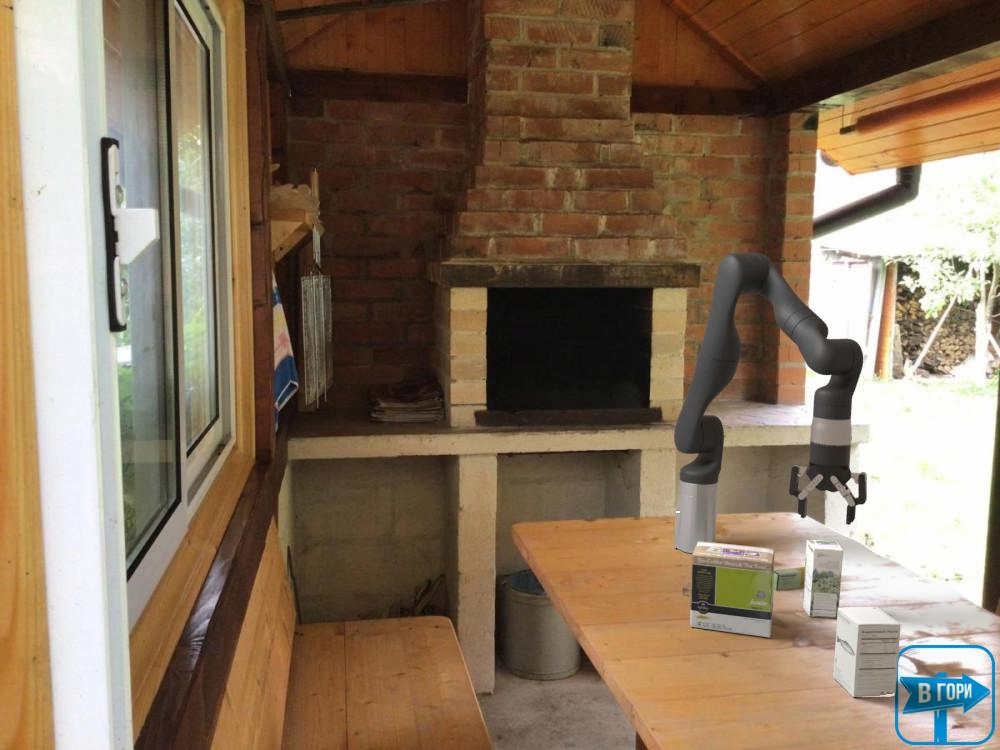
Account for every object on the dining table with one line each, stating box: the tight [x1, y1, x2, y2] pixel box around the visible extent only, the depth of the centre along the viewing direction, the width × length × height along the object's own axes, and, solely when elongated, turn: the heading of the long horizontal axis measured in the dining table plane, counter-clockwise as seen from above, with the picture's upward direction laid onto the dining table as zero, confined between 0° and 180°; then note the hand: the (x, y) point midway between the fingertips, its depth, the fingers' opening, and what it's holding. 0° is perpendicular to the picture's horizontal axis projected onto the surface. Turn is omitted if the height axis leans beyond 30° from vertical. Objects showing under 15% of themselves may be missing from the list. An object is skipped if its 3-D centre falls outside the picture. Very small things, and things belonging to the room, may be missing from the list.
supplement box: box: [832, 606, 902, 698], centre depth 144 cm, size 7×7×13 cm
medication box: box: [773, 566, 805, 591], centre depth 192 cm, size 12×3×4 cm, turn 109°
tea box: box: [689, 541, 775, 638], centre depth 170 cm, size 15×10×15 cm
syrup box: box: [802, 539, 844, 619], centre depth 176 cm, size 6×6×14 cm
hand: (825, 520), depth 175 cm, fingers open, 8 cm apart
